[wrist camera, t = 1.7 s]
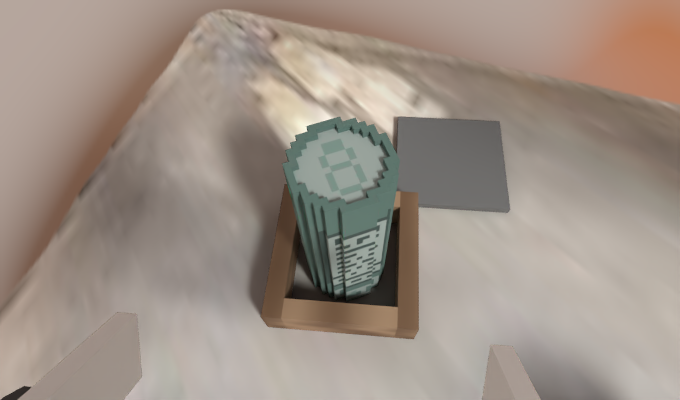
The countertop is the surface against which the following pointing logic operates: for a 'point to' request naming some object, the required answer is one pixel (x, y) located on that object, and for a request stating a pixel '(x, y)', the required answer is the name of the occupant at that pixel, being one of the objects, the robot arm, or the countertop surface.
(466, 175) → the mat
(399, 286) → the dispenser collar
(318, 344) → the countertop surface
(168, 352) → the countertop surface
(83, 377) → the robot arm
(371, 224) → the can
